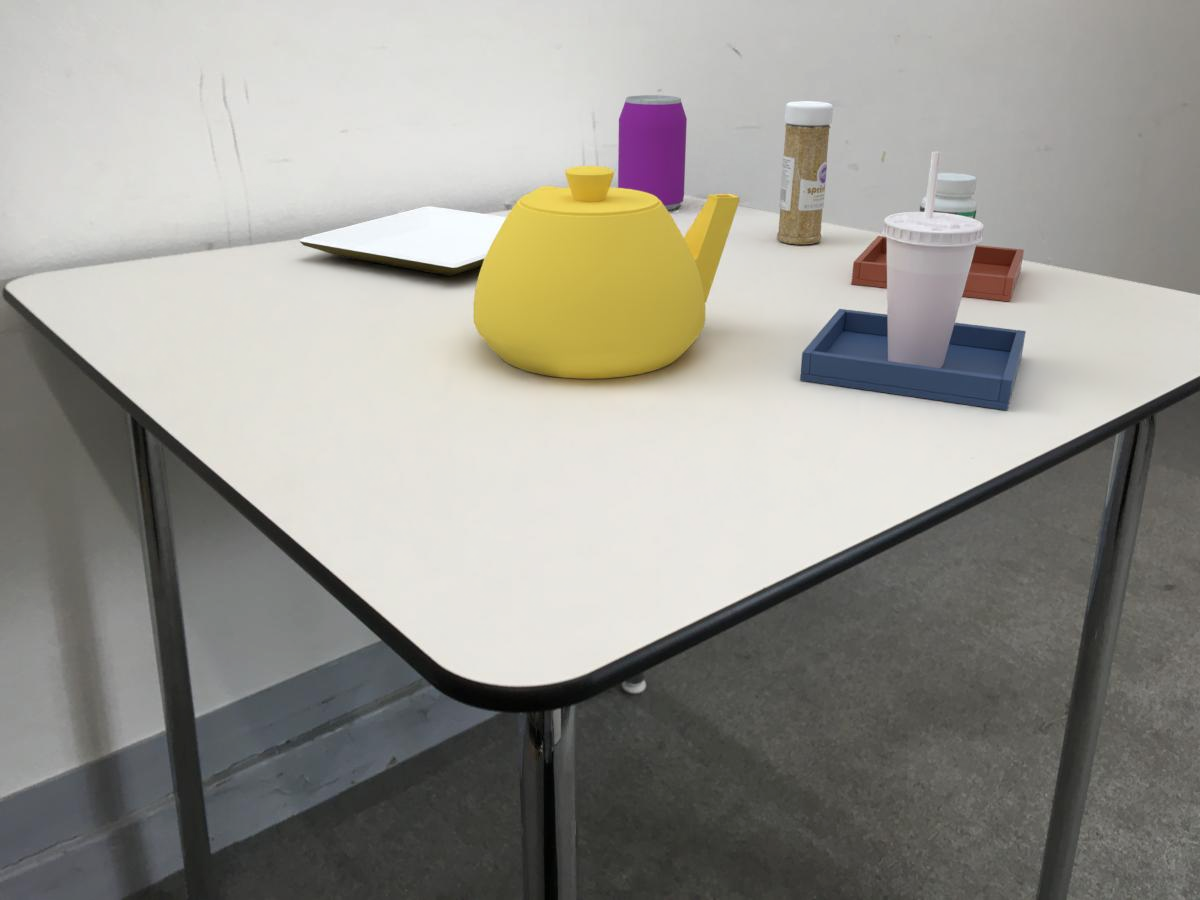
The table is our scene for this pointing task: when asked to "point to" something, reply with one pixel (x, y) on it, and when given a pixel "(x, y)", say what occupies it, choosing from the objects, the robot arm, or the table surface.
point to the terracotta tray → (985, 280)
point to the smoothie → (926, 277)
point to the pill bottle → (954, 195)
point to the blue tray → (968, 375)
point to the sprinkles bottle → (804, 171)
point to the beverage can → (653, 147)
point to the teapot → (598, 279)
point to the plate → (416, 240)
